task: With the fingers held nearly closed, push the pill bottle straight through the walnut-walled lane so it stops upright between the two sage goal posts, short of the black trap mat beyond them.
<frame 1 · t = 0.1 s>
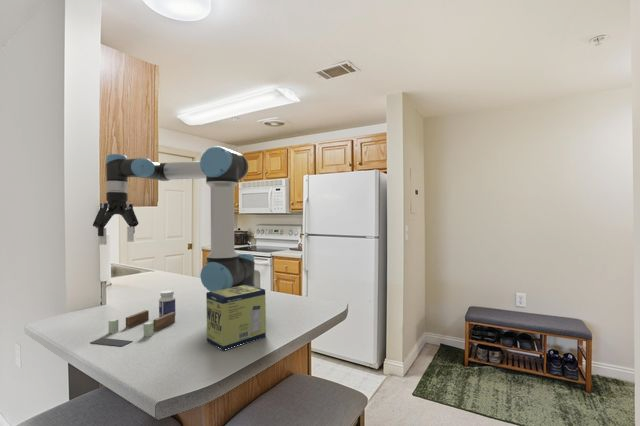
hand: (117, 243, 135), 28 cm above the countertop, tool pointing down, fingers open, 13 cm apart
trap mat: (111, 342, 101), on the countertop
lane: (150, 324, 117), on the countertop
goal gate: (130, 333, 108), on the countertop
pill bottle: (167, 318, 125), on the countertop
protein box: (236, 340, 103), on the countertop
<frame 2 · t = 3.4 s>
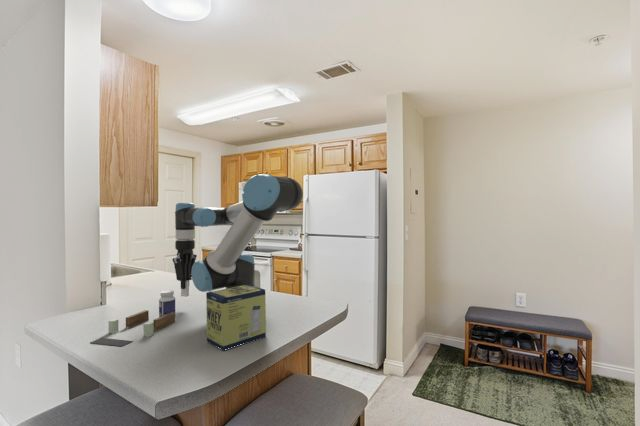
hand: (185, 296, 136), 5 cm above the countertop, tool pointing down, fingers closed
nothing on the countertop moved.
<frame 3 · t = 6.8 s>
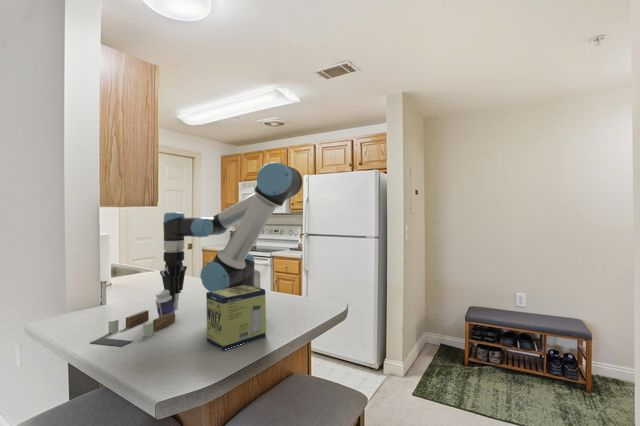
hand: (173, 310, 130), 2 cm above the countertop, tool pointing down, fingers closed
pill bottle: (167, 316, 125), on the countertop, touching gripper
everything else where it was.
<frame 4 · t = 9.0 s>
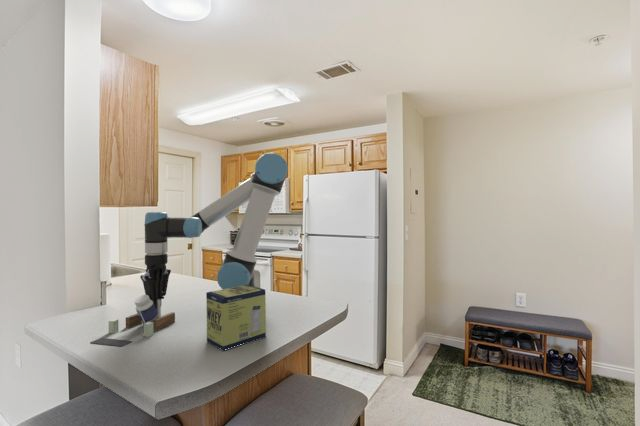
hand: (156, 316, 121), 2 cm above the countertop, tool pointing down, fingers closed
pill bottle: (151, 321, 118), point 1 cm above the countertop, touching gripper, hand
everything else where it was.
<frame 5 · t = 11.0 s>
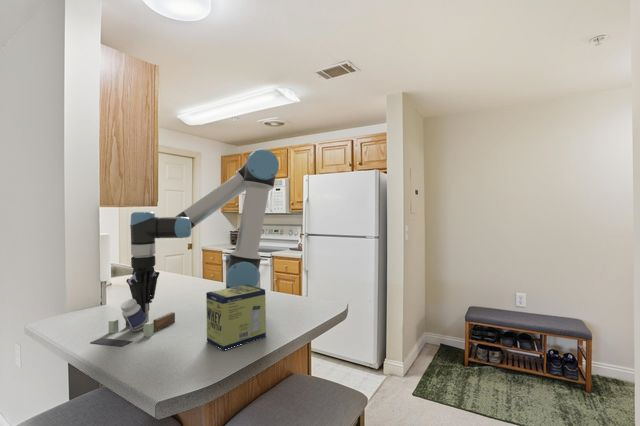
hand: (144, 321, 115), 2 cm above the countertop, tool pointing down, fingers closed
pill bottle: (139, 326, 113), point 1 cm above the countertop, touching gripper, hand
everything else where it was.
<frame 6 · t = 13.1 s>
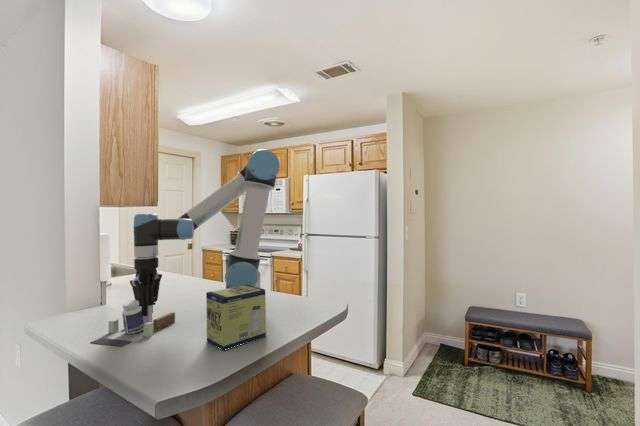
hand: (147, 324, 115), 1 cm above the countertop, tool pointing down, fingers closed
pill bottle: (134, 330, 110), on the countertop, touching gripper
everything else where it was.
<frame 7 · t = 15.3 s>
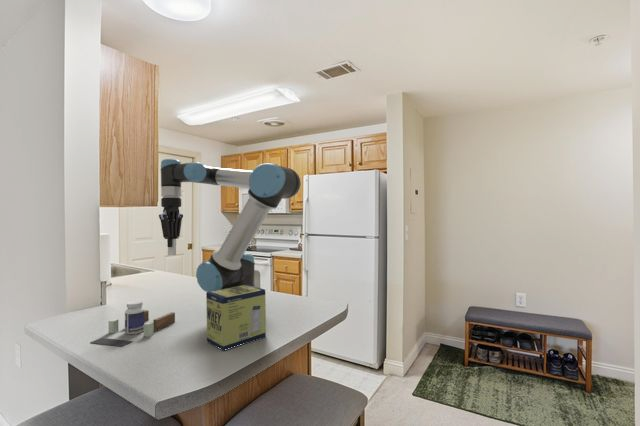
hand: (171, 254, 133), 23 cm above the countertop, tool pointing down, fingers closed
pill bottle: (134, 332, 110), on the countertop
everything else where it was.
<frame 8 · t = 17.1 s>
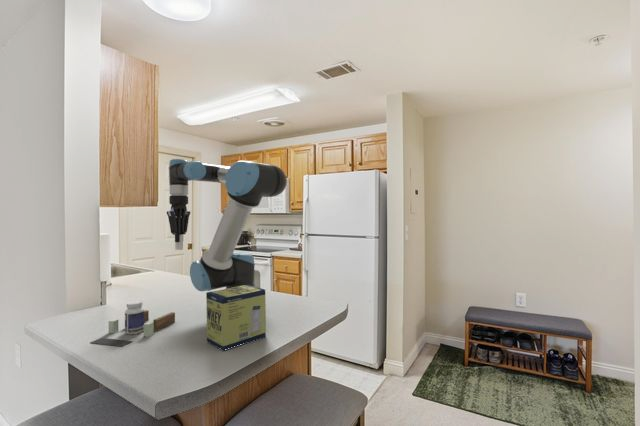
hand: (179, 249, 141), 24 cm above the countertop, tool pointing down, fingers closed
nothing on the countertop moved.
at the end: pill bottle inside the target area (2.2 cm from its centre), on the countertop; pill bottle tilted 0°; pill bottle touching countertop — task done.
